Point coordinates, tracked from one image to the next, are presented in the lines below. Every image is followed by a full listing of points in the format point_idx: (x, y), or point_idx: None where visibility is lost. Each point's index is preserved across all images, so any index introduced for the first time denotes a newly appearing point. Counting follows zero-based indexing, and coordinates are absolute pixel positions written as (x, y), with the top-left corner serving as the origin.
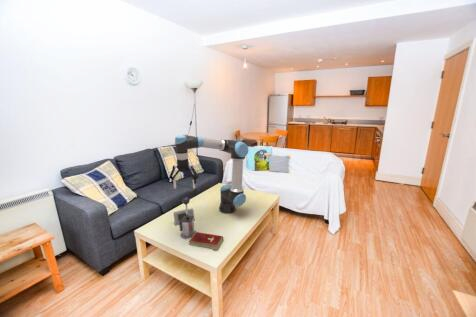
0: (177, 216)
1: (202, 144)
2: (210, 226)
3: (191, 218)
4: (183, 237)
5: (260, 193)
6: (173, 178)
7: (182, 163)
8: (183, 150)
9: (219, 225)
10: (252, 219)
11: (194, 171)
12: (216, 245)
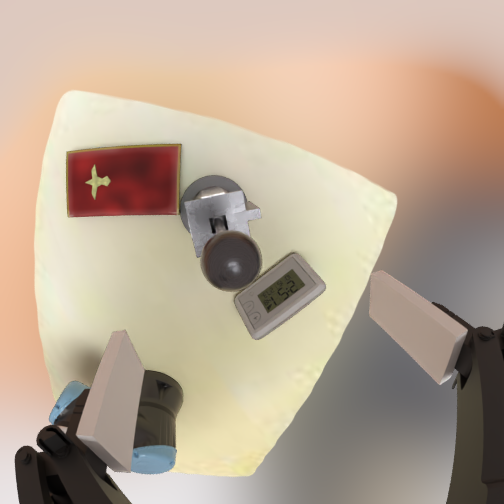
0: (302, 279)
1: None
2: (155, 284)
3: (197, 231)
4: (224, 182)
5: None
6: (478, 346)
7: None
8: None
9: (126, 298)
10: (52, 349)
11: None
12: (69, 155)
